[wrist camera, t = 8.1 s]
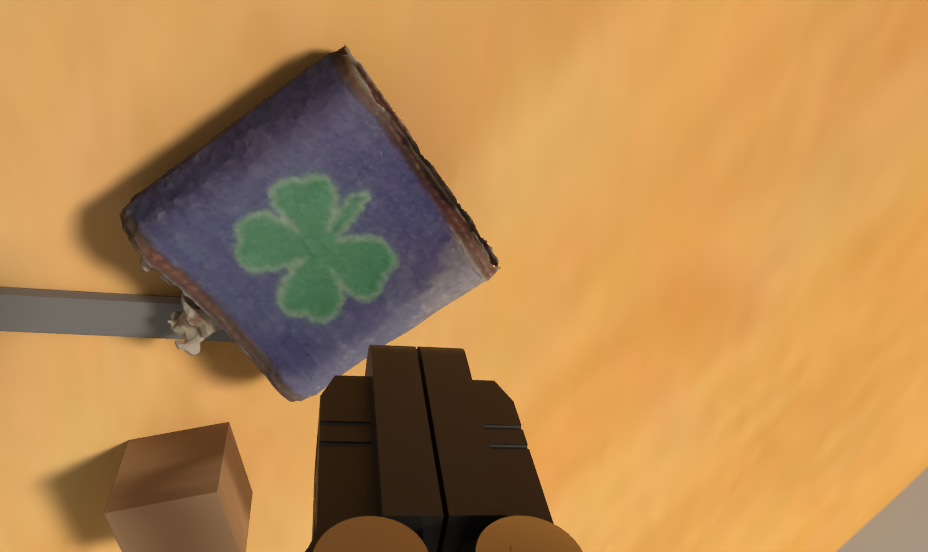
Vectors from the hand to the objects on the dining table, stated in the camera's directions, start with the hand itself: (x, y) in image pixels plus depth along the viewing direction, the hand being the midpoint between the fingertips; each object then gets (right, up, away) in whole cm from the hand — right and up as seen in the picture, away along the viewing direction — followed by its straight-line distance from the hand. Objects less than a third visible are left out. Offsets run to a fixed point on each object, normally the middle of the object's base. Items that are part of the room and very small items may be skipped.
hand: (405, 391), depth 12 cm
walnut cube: (-10, -6, +19) cm, 23 cm away
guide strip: (-11, +1, +15) cm, 19 cm away
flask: (0, +6, +13) cm, 14 cm away
